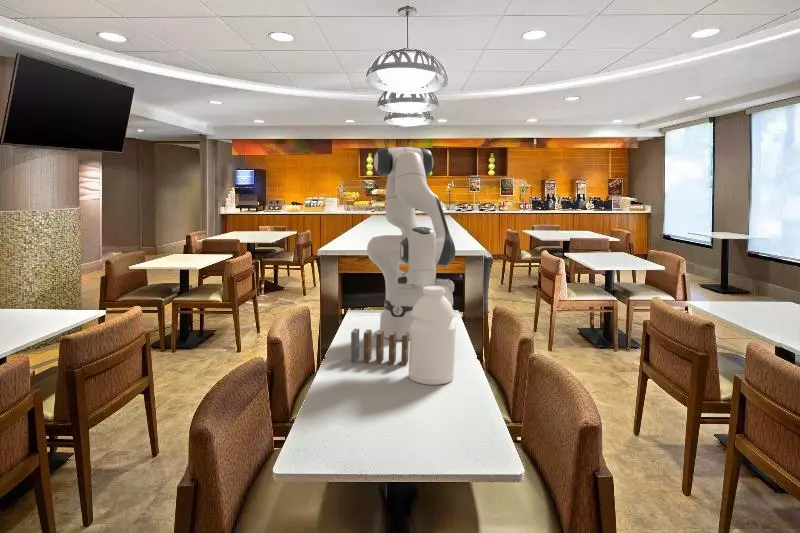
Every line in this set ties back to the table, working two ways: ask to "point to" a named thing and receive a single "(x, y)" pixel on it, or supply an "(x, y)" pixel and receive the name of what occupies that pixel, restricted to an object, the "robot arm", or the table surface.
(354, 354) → the end domino
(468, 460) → the table surface
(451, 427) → the table surface
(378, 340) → the domino
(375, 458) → the table surface
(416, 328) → the bottle
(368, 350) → the domino
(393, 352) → the domino
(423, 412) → the table surface
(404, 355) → the domino
